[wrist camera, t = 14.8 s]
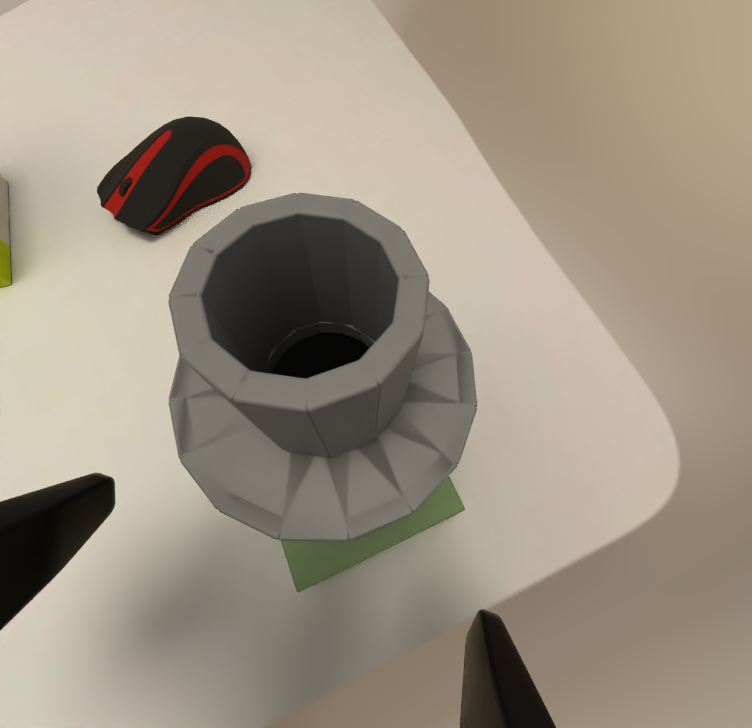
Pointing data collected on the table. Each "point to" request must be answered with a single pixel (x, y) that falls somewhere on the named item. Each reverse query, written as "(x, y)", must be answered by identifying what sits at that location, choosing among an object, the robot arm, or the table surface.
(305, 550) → the green block
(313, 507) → the flask
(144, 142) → the computer mouse
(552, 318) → the table surface
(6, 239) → the puzzle toy
